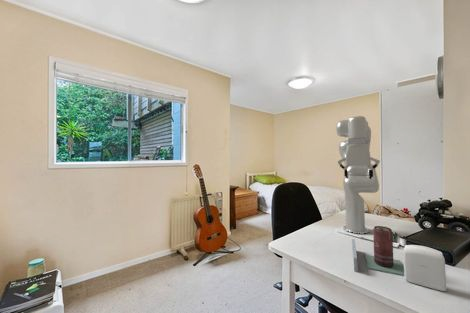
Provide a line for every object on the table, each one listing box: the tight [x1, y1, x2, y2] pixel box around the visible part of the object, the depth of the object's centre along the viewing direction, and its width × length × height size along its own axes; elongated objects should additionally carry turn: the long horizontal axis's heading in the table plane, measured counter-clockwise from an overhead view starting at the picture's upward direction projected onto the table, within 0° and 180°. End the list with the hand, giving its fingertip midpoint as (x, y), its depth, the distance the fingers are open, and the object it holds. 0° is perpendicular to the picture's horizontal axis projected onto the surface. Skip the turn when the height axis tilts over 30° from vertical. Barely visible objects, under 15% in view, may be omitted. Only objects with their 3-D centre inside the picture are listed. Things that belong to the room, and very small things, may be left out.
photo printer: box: [402, 244, 447, 292], centre depth 68 cm, size 10×4×12 cm, turn 49°
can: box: [372, 225, 394, 268], centre depth 80 cm, size 6×6×14 cm
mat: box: [364, 254, 404, 277], centre depth 81 cm, size 12×12×1 cm
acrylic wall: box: [351, 238, 359, 273], centre depth 85 cm, size 20×1×5 cm, turn 152°
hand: (358, 178), depth 99 cm, fingers open, 9 cm apart
